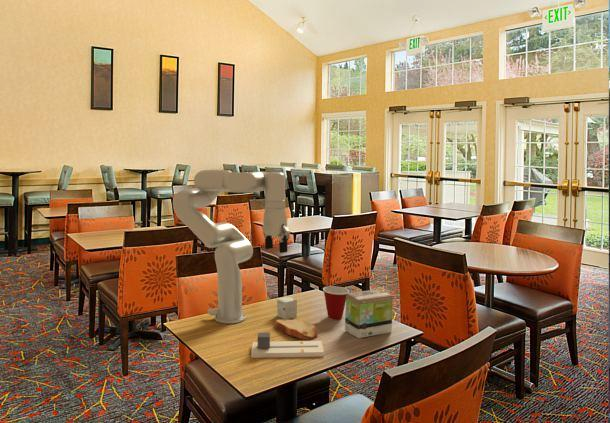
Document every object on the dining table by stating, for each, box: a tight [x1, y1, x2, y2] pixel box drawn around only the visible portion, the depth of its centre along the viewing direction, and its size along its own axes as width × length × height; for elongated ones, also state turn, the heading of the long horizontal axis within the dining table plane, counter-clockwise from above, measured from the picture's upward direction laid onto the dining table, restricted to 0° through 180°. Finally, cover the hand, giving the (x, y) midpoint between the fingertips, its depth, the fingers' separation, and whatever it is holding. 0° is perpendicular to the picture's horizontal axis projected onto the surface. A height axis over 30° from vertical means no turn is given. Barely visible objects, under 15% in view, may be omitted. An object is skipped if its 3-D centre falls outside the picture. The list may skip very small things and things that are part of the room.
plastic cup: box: [322, 285, 350, 320], centre depth 205 cm, size 11×11×12 cm
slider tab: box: [257, 332, 271, 348], centre depth 170 cm, size 4×4×4 cm
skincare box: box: [276, 296, 298, 320], centre depth 206 cm, size 6×6×7 cm
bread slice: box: [273, 318, 319, 341], centre depth 190 cm, size 18×18×4 cm
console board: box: [250, 340, 325, 359], centre depth 171 cm, size 24×10×2 cm, turn 92°
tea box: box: [344, 288, 394, 339], centre depth 188 cm, size 15×10×15 cm, turn 117°
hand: (276, 250), depth 189 cm, fingers open, 9 cm apart
